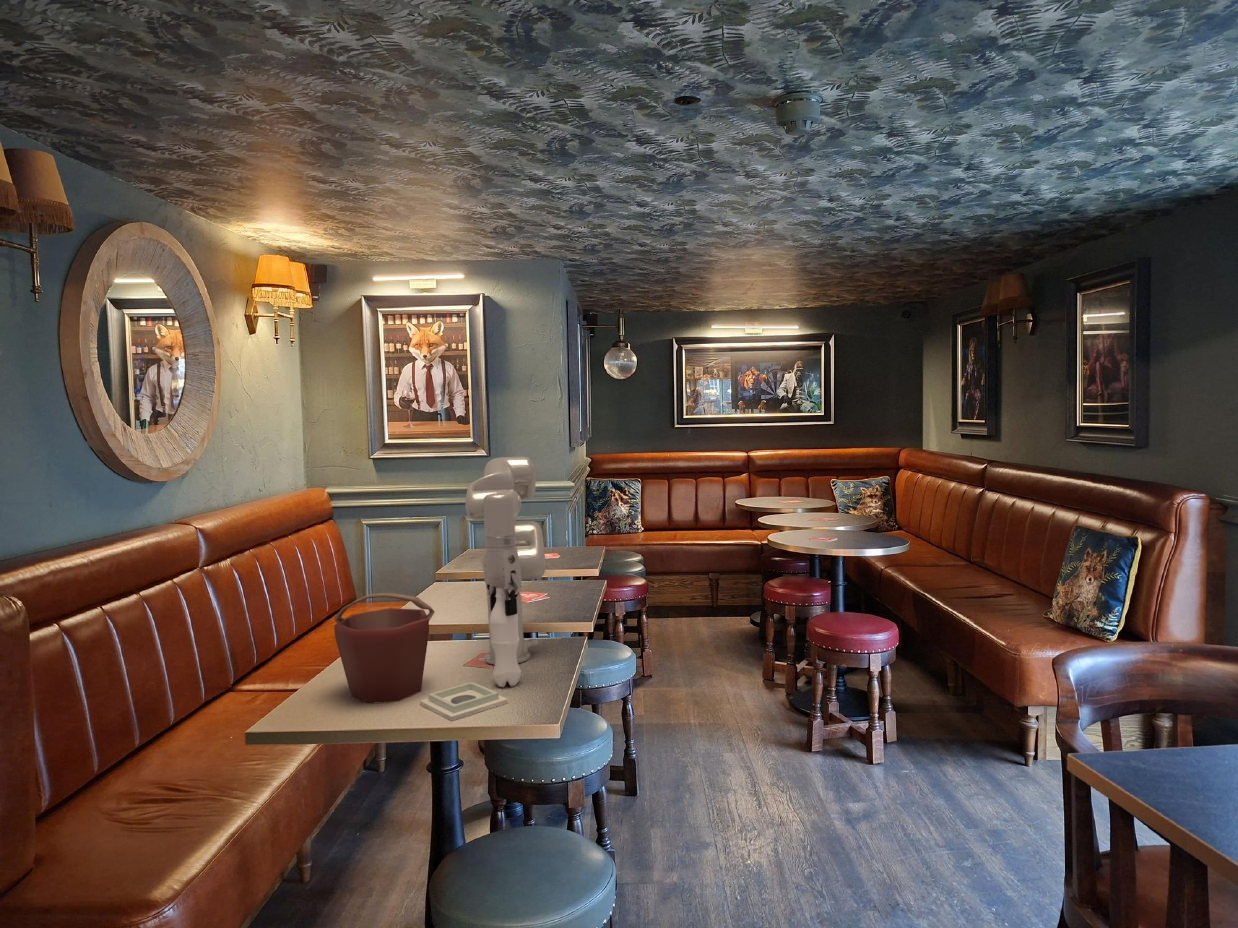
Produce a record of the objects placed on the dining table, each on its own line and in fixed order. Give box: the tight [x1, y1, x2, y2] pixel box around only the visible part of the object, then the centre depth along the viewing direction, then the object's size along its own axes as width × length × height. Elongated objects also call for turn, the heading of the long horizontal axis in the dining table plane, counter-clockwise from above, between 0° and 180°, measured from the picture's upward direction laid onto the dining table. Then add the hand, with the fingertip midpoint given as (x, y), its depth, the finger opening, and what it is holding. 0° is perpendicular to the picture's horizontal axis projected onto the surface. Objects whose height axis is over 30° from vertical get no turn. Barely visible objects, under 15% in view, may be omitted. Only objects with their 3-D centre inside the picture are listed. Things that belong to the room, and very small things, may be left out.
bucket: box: [333, 592, 435, 704], centre depth 198 cm, size 24×22×25 cm
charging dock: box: [419, 681, 509, 722], centre depth 188 cm, size 15×15×2 cm
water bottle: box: [490, 587, 522, 688], centre depth 201 cm, size 7×7×25 cm
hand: (503, 612), depth 200 cm, fingers closed on water bottle, 6 cm apart
